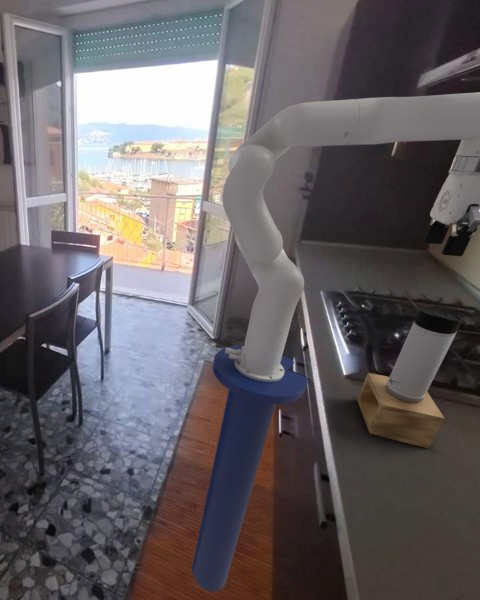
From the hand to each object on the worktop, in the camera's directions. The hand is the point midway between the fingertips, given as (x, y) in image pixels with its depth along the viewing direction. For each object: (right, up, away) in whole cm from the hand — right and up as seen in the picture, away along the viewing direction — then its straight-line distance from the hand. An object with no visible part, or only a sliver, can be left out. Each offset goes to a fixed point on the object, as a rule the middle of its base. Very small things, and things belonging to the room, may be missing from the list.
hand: (441, 248), depth 78 cm
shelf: (-9, -39, +2) cm, 40 cm away
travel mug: (-10, -32, -1) cm, 33 cm away
